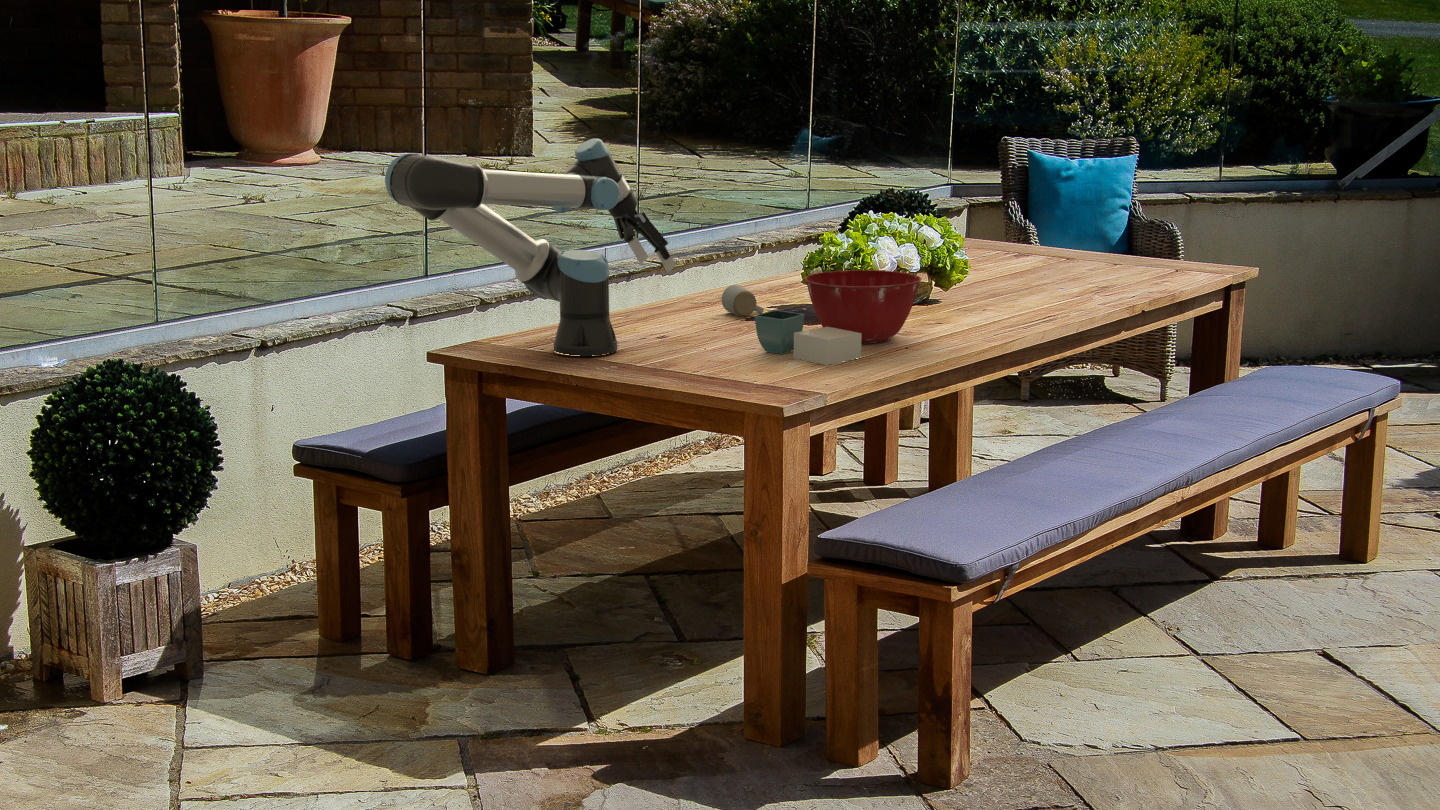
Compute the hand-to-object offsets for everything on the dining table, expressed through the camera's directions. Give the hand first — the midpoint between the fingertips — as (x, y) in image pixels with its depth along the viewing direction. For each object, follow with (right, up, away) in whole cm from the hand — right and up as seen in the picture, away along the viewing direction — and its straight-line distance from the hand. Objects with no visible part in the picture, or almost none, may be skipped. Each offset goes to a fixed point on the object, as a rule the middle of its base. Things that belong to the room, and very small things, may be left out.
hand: (657, 264), depth 367 cm
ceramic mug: (+22, -11, +24) cm, 35 cm away
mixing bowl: (+51, -20, -9) cm, 55 cm away
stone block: (+41, -25, -32) cm, 57 cm away
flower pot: (+30, -23, -24) cm, 45 cm away
